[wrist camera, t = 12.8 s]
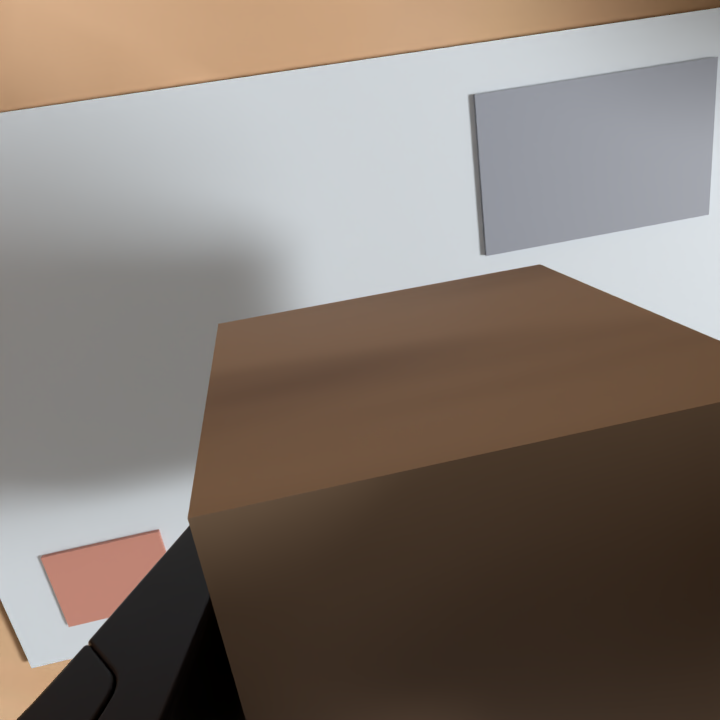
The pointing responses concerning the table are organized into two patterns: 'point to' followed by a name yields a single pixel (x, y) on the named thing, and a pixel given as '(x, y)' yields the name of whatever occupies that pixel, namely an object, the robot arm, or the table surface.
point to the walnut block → (465, 506)
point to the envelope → (307, 252)
